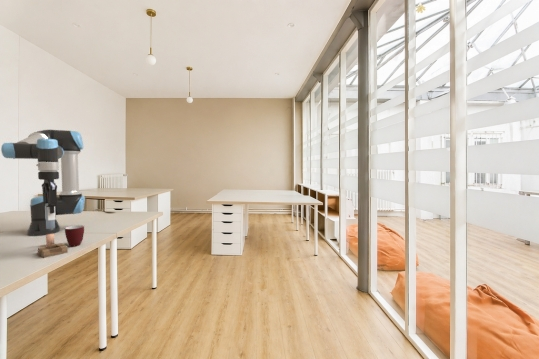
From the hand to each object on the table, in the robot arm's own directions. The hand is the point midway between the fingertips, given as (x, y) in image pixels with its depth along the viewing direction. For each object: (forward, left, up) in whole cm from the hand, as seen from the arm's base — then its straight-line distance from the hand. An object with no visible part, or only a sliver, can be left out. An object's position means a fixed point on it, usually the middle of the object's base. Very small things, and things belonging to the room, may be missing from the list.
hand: (50, 219), depth 121 cm
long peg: (0, 0, -4) cm, 4 cm away
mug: (-6, +11, -17) cm, 21 cm away
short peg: (-15, +3, -17) cm, 23 cm away
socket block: (0, 0, -17) cm, 17 cm away
